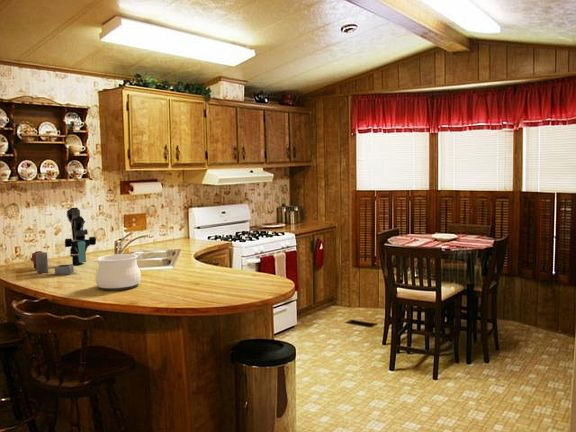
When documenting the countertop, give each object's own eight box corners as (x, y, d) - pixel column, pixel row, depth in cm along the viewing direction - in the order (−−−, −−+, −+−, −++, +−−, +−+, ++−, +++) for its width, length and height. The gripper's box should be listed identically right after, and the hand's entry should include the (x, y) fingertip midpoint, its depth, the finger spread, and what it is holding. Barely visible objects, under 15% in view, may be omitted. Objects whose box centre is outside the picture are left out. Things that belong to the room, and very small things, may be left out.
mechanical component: (33, 271, 347) (29, 269, 355) (49, 269, 353) (45, 267, 361) (31, 253, 346) (28, 251, 354) (48, 251, 352) (44, 249, 360)
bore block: (59, 272, 342) (58, 264, 342) (73, 271, 343) (73, 264, 343) (55, 275, 333) (54, 267, 333) (69, 274, 335) (69, 266, 334)
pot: (128, 279, 316) (126, 250, 314) (153, 284, 300) (151, 254, 299) (84, 288, 294) (82, 257, 292) (108, 294, 279) (106, 262, 277)
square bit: (78, 261, 341) (77, 241, 340) (85, 261, 343) (84, 241, 342) (79, 262, 338) (78, 242, 337) (86, 262, 340) (84, 242, 338)
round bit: (41, 271, 346) (40, 252, 345) (50, 272, 344) (49, 252, 343) (34, 273, 339) (33, 254, 338) (43, 274, 338) (42, 254, 337)
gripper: (64, 226, 337) (66, 245, 329) (94, 224, 346) (98, 243, 337) (63, 237, 345) (66, 256, 336) (93, 235, 354) (97, 253, 345)
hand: (82, 252), depth 339 cm, fingers closed on square bit, 4 cm apart
